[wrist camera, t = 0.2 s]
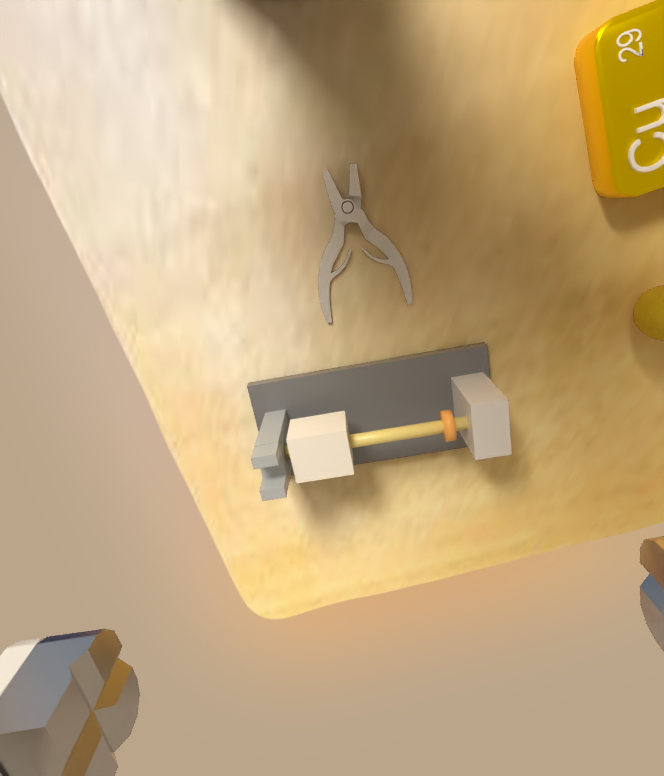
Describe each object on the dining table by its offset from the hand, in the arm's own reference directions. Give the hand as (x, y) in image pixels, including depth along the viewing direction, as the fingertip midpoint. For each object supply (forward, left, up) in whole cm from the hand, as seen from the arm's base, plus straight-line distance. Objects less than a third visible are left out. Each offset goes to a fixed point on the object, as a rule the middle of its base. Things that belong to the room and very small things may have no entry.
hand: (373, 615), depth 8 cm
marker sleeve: (+17, -5, -43) cm, 46 cm away
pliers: (-2, +2, -48) cm, 48 cm away
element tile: (-10, +33, -48) cm, 59 cm away
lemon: (+10, +32, -48) cm, 58 cm away
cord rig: (+17, +1, -47) cm, 50 cm away
